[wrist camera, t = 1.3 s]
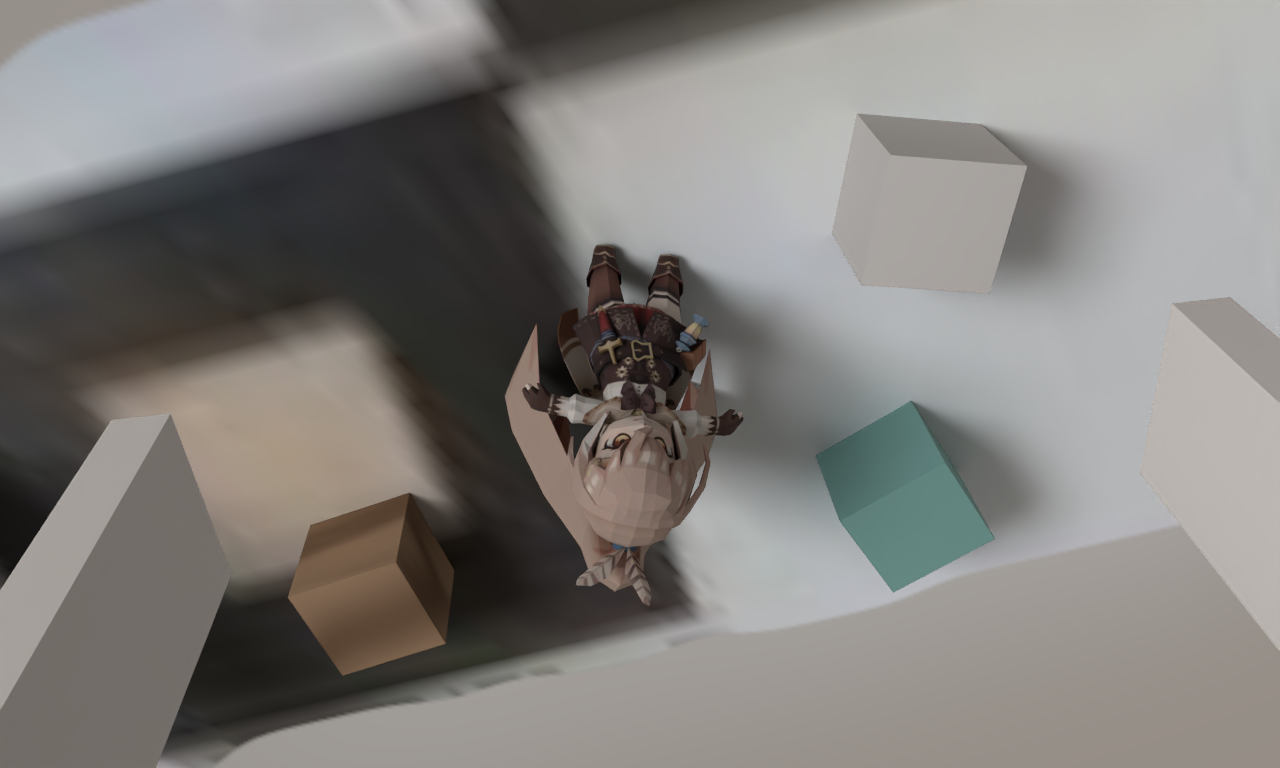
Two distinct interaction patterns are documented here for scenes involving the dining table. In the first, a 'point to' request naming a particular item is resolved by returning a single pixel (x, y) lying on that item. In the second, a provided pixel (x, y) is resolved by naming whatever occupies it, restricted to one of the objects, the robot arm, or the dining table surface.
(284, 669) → the dining table surface
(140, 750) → the robot arm
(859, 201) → the grey cube
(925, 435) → the teal cube
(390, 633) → the walnut cube
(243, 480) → the dining table surface
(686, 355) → the toy
